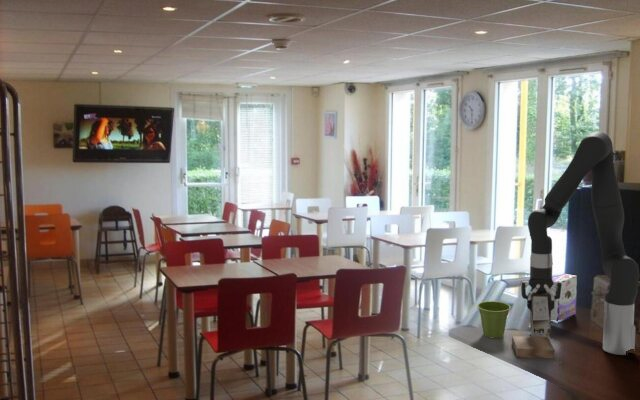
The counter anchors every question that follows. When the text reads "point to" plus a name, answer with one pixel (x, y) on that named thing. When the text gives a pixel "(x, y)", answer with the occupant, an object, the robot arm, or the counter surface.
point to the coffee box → (540, 315)
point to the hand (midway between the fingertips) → (540, 309)
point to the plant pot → (493, 317)
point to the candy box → (564, 297)
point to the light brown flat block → (533, 347)
